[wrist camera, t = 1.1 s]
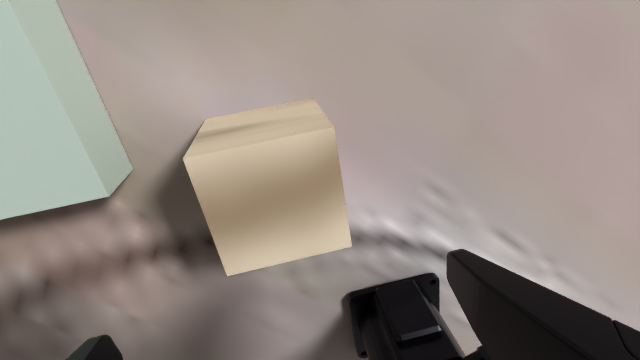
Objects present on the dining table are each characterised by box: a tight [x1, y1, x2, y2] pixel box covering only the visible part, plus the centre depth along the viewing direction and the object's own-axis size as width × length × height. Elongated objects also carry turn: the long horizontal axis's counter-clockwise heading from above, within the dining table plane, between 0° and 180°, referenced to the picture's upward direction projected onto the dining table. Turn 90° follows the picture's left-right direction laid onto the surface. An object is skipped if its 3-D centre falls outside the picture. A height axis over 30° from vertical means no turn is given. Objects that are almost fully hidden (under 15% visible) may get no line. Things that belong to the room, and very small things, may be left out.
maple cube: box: [183, 98, 352, 276], centre depth 16 cm, size 6×6×6 cm
